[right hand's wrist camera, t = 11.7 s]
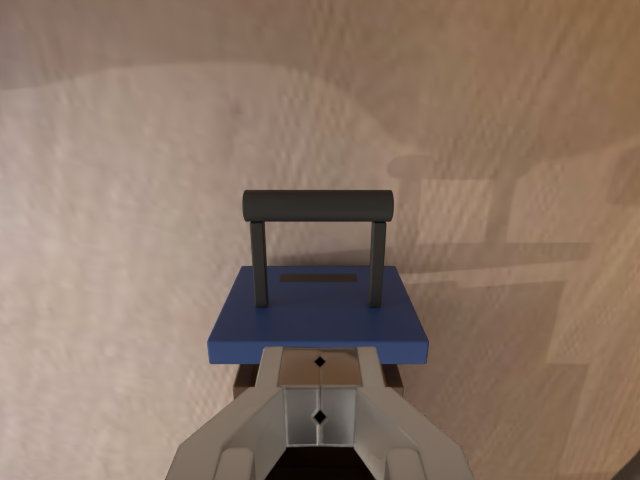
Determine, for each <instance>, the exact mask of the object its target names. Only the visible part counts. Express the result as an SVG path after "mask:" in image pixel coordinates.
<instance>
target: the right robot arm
mask: <svg viewBox="0 0 640 480" xmlns="http://www.w3.org/2000/svg"><path fill="white" fill-rule="evenodd" d="M307 446H332V447H354V449H355V451H356V452H357V454H358V455H359V456H360V458H361V459H362V461H363V462H364V463H365V465H366V466H367V468H368V469H369V470H370V472H371V473H372V475H373V476H374V477H375V479H376V480H475V478H474V476H473V474H472V471H471V469H470V466H469V464H468V461H467V459H466V456H465V454H464V451H463V449H462V446H460V445H459V444H458V443H457V442H456V441H454V440H453V439H452V438H451V437H450V436H448V435H447V434H446V433H445V432H444V431H443V430H441V429H440V428H439V427H438V426H437V425H435V424H434V423H433V422H432V421H431V420H429V419H428V418H427V417H426V416H425V415H423V414H422V413H421V412H420V411H419V410H417V409H416V408H415V407H414V406H413V405H411V404H410V403H409V402H408V401H407V400H406V399H404V398H403V397H402V396H401V395H400V394H398V393H397V392H396V391H395V390H394V389H392V388H391V387H385V384H384V380H383V375H382V371H381V367H380V362H379V358H378V354H377V349H376V347H375V346H365V347H336V348H320V347H285V346H284V347H282V346H265V348H264V349H263V353H262V358H261V362H260V366H259V371H258V375H257V380H256V384H255V387H249V388H248V389H246V390H245V391H244V392H243V393H242V394H240V395H239V396H238V397H237V398H236V399H234V400H233V401H232V402H231V403H230V404H228V405H227V406H226V407H225V408H224V409H222V410H221V411H220V412H219V413H218V414H216V415H215V416H214V417H213V418H212V419H210V420H209V421H208V422H207V423H206V424H204V425H203V426H202V427H201V428H200V429H198V430H197V431H196V432H195V433H194V434H192V435H191V436H190V437H189V438H188V439H186V440H185V441H184V442H183V443H182V444H180V445H179V447H178V449H177V452H176V454H175V457H174V459H173V461H172V464H171V466H170V469H169V471H168V474H167V476H166V478H165V480H264V479H265V478H266V476H267V475H268V473H269V472H270V471H271V469H272V468H273V466H274V465H275V464H276V462H277V461H278V460H279V458H280V457H281V455H282V454H283V453H284V451H285V450H286V447H307Z"/></svg>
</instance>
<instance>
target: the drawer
mask: <svg viewBox="0 0 640 480" xmlns="http://www.w3.org/2000/svg"><path fill="white" fill-rule="evenodd" d="M393 211H394V198H393V193H392V191H391V190H245V191H244V194H243V216H244V219H245V221H250V232H251V248H252V264H253V266H242V267H241V269H240V271H239V274H238V276H237V278H236V280H235V282H234V284H233V287H232V289H231V291H230V293H229V295H228V297H227V300H226V302H225V304H224V306H223V308H222V310H221V313H220V315H219V317H218V319H217V321H216V323H215V326H214V328H213V330H212V332H211V334H210V336H209V339H208V341H207V346H208V355H209V363H210V364H240V365H239V368H238V372H237V375H236V378H235V382H234V385H233V396H234V399H236V398H237V397H238V396H239V395H240V394H242V393H243V392H244V391H245V390H246V389H248V388H249V387H255V384H256V380H257V375H258V371H259V366H260V362H261V358H262V353H263V349H264V348H265V346H282V347H284V346H285V347H320V348H336V347H365V346H375V347H376V349H377V354H378V358H379V362H380V367H381V371H382V375H383V380H384V384H385V387H391V388H392V389H394V390H395V391H396V392H397V393H398V394H400V395H401V396H402V397H403V389H404V387H403V384H402V380H401V377H400V373H399V370H398V366H397V364H426V363H427V355H428V347H429V341H428V339H427V336H426V334H425V332H424V330H423V327H422V325H421V323H420V321H419V318H418V316H417V314H416V312H415V310H414V307H413V305H412V303H411V301H410V298H409V296H408V294H407V292H406V290H405V287H404V285H403V283H402V281H401V278H400V276H399V274H398V272H397V269H396V267H395V266H384V254H385V238H386V222H390V221H391V220H392V217H393ZM265 222H372V230H371V250H370V266H267V260H266V240H265ZM264 480H376V479H375V477H374V476H373V475H372V473H371V472H370V470H369V469H368V468H367V466H366V465H365V463H364V462H363V461H362V459H361V458H360V456H359V455H358V454H357V452H356V451H355V449H354V447H332V446H307V447H286V450H285V451H284V453H283V454H282V455H281V457H280V458H279V460H278V461H277V462H276V464H275V465H274V466H273V468H272V469H271V471H270V472H269V473H268V475H267V476H266V478H265V479H264Z"/></svg>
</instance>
